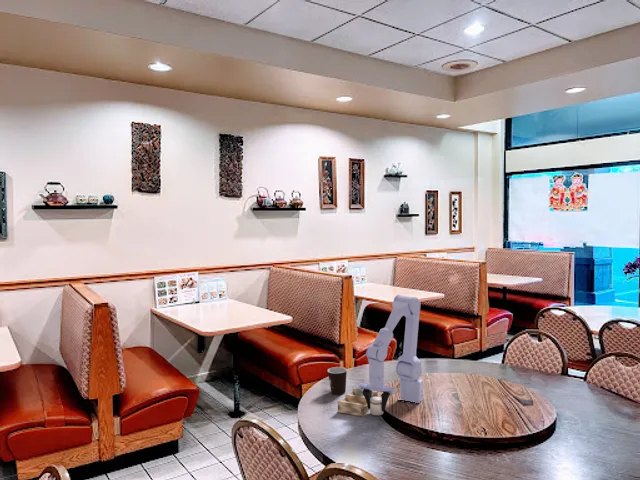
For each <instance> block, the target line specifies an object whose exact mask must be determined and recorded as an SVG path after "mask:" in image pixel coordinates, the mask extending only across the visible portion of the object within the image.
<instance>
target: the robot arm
mask: <svg viewBox="0 0 640 480" xmlns="http://www.w3.org/2000/svg"><path fill="white" fill-rule="evenodd" d="M421 304H422V303H421V301H420V300H419V298H418V297H416V296H409V295H401V294H397V295H396V296H394V299H393V301H392V302H391V306H392V309H391V313H390V314H389V317H388V319H387V321H386V323H385V326H384V327H383V328H380V330H379V332H378V333H377V335H376V336H375V339H374V341H373V343H372V344H371V345H368V347H367V348H366V352H365V355H366V358H367V363H368V365H369V366H368V368H369V369H368V370H369V371H368V372H369V373H368V375H369V378H368V381H369V382H368V383H364V382H363V383H362V382H360V383H359V384H358V386H359V389H363V392H362V393H363V395H364V397H365V399H366V402H367V405H368V409H370V398H371V397H372V391H378V392H379V393H381V395H380V397H381V398H382V411H383V412H384V410H385V411H386V408H387V404H388V403H387V402H388V401H389V397H390V395H395V393H396V388H395V387H392V386H388V385H385V383H384V382H385V379H384V378H385V372H384V371H385V370H384V369H385V359H386V358H387V356H388V350H389V348H388V347H389V346H390V344H391V341H392V339H394V333H393V331H394V329H395V328H396V326H397V325H398V324H399V322H400V320H401V318H402V317H403V316H404V317H405V328H404V329H405V330H404V339H403V349H402V350H403V351H402V355H400V356H399V357H398V358H397V363H396V366H395V372H396V374H397V375H398V378H399V396H400V398H401V399H403V400H406V401H412V402H413V401H415V403H414V404H416V403H419V404H420V403H421V402H422V400H423V399H424V381H423V380H422V379H420V378H421V376H422V370H423V369H422V365H421V364H422V362H421V360H420V359H419V358H418V357H417V348H418V336H419V334H418V333H419V323H420V312H421ZM420 401H421V402H420Z"/></svg>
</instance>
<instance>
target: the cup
mask: <svg viewBox="0 0 640 480" xmlns="http://www.w3.org/2000/svg"><path fill="white" fill-rule="evenodd" d="M369 412H370V414H371V415H373V416H382V415H383V414H384V411H382V398H381V396H378V397H371V398H370V410H369Z"/></svg>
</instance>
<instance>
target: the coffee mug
mask: <svg viewBox="0 0 640 480" xmlns="http://www.w3.org/2000/svg"><path fill="white" fill-rule="evenodd" d="M347 371H348V369H347V368H346V367H344V366H343V367H342V366H335V367H329V368H327V375H328V381H329V388H330V393H331V394H332V395H334V396H335V395H336V396H339V395H343V394H346V389H347V376H348V375H347V373H348V372H347Z"/></svg>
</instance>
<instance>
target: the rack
mask: <svg viewBox="0 0 640 480" xmlns="http://www.w3.org/2000/svg"><path fill="white" fill-rule="evenodd" d="M362 392H363V389H359V385H358V386H356V387H353V388H352V392H351V393H344V394H345V398H344V399H342V400H340V399H338V400H337V413H342V414H345V415H346V414H347V415H353V416H356V417H358V416H359V417H365V416H366V414H367V413H368V412H370V409H368V405H367V402H366V399H365V397H364V395H363V393H362ZM378 394H379V393H378V391H372V397H379V396H378Z"/></svg>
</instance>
